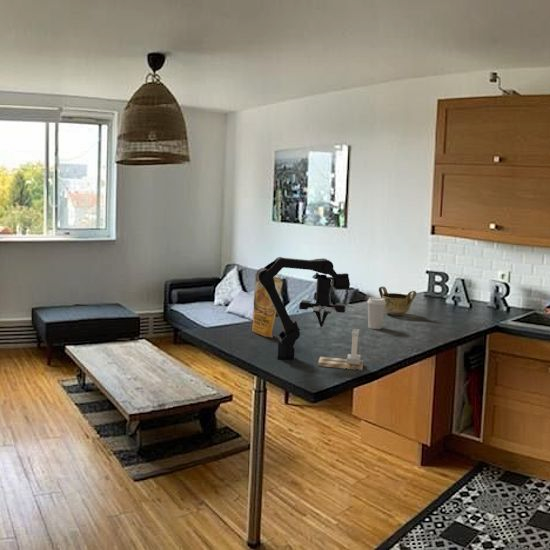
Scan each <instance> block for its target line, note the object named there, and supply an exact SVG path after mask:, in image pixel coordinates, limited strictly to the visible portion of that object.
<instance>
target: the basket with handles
mask: <svg viewBox="0 0 550 550" xmlns="http://www.w3.org/2000/svg"><path fill="white" fill-rule="evenodd" d="M378 292H379V295H380V298H383V299H385V302H386V304H385V307H384V313H387V314H389V315H391V316H397V317H398V316H402V315H405V314H406V313H408V311H409V310H410V308H411V305H412V302H413V301H414V299H415V298H416V296H417V290H416V291H415V290H411V291H409V292H408V293H407V294H402V293H394V292H390V293H389V292H388V290H387V288H386V286H379V288H378ZM411 294H413V295H412V297H411Z"/></svg>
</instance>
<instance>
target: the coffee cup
mask: <svg viewBox="0 0 550 550" xmlns="http://www.w3.org/2000/svg"><path fill="white" fill-rule="evenodd" d="M366 302H367V320H368V321H367V323H368V324H367V325H368V326H367V328H369V329H371V330H372V329H373V330H380V329H382V324H383V319H384V313H385V311H384V307H385V304H386V302H385V299H383V298H381V297H376V296H375V297H369V298H368V300H367V301H366Z"/></svg>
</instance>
